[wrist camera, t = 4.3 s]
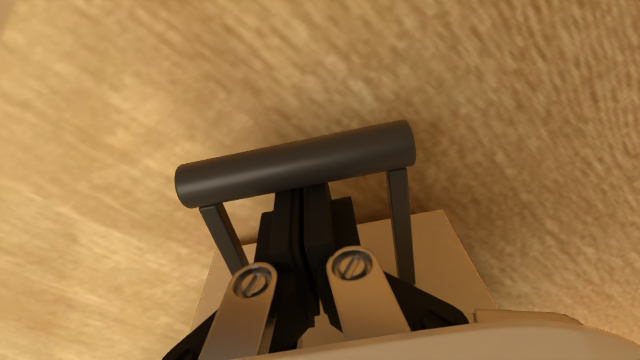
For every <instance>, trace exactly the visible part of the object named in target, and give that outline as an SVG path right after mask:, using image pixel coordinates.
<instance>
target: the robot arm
mask: <svg viewBox="0 0 640 360" xmlns="http://www.w3.org/2000/svg"><path fill="white" fill-rule="evenodd" d="M320 301H321V304H322V307H323V310H324V313H325V315H326V314H327V316H328V319H329V323H330V325H332V326H333V327H335V328H336V329H337V330H339V331H340V332H342V333H343V334H344V337H345V340H346V342H341V343H334V344H328V345H321V346H315V347H308V348H303V339H302V335H303V334H304V333H305V332H306V331H307V330H308V329H309V328H313V327H315V316H320ZM162 360H640V345H638V344H637V343H635V342H633V341H631V340H629V339H626V338H624V337H622V336H620V335H617V334H614V333H611V332H608V331H604V330H601V329H597V328H593V327H589V326H584V325H583V324H582V323H581V322H579V321H578V320H576V319H574V318H572V317H570V316H568V315H565V314H560V313H554V312H534V311H512V310H490V309H474V313H466V312H462V311H461V310H459V309H458V308H456V307H455V306H453V305H451V304H449V303H447V302H445V301H443V300H441V299H439V298H437V297H435V296H433V295H431V294H429V293H427V292H425V291H423V290H421V289H419V288H417V287H415V286H413V285H411V284H409V283H407V282H405V281H403V280H401V279H399V278H397V277H395V276H393V275H391V274H389V273H387V272H385V271H383V270H382V268H381V266H380V264H379V262H378V260H377V257H376V256H375V255H374V253H373V252H372V251H370V250H369V249H368V248H365V247H362V246H361V244H360V239H359V234H358V229H357V224H356V219H355V214H354V209H353V204H352V199H351V196H349V197H344V198H339V199H334V200H332V198H331V194H330V190H329V185H328V182H327V183H322V184H317V185H312V186H306V187H301V188H296V189H291V190H286V191H280V192H276V193H275V202H274V210H273V211H270V212H264V213H262V216H261V221H260V227H259V233H258V239H257V245H256V251H255V257H254V263H252V264H249V265H247V266H244V267H243V268H241V269H240V270H238V271H237V272H236V273H235V274H234V275H233V277H232V278H231V280H230V282H229V284H228V286H227V289H226V291H225V294H224V296H223V299H222V301H221V304H220V306H219V308H218V309H217V310H216V311H215V312H214V313H213V314H212V315H210V316H209V317H208V318H207V319H206V320H205V321H203V322H202V323H201V324H200V325H199V326H198V327H197V328H195V329H194V330H193V331H192V332H191V333H190V334H188V335H187V336H186V337H185V338H184V339H183V340H182V341H180V342H179V343H178V344H177V345H176V346H175V347H173V348H172V349H171V350H170V351H169V352H168V353H167V354H166V355H165V356H164V357H163V359H162Z"/></svg>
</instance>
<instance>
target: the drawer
mask: <svg viewBox="0 0 640 360" xmlns="http://www.w3.org/2000/svg"><path fill="white" fill-rule="evenodd" d="M415 160H416V148H415V141H414V136H413V133H412V129H411V127H410V125H409V123H408V121H407V120H398V121H393V122H388V123H384V124H379V125H374V126H369V127H364V128H359V129H354V130H349V131H344V132H339V133H334V134H329V135H324V136H319V137H315V138H310V139H305V140H300V141H295V142H290V143H285V144H280V145H275V146H270V147H265V148H260V149H255V150H250V151H246V152H241V153H236V154H231V155H226V156H221V157H216V158H211V159H206V160H201V161H196V162H191V163H186V164H182V165H180V166H179V167H178V168H177V169H176V172H175V188H176V192H177V195H178V198H179V200H180V201H181V203H182V204H183V205H184V206H185V207H187V208H191V209H192V208H197V207H199V211H200V213H201V215H202V217H203V219H204V221H205V223H206V225H207V227H208V229H209V231H210V233H211V235H212V237H213V239H214V241H215V243H216V245H217V247H218V249H219V250H216V251H215V252H214V256H213V259H212V262H211V265H210V269H209V272H208V275H207V279H206V282H205V285H204V288H203V292H202V295H201V298H200V301H199V305H198V308H197V311H196V315H195V318H194V321H193V324H192V328H191V331H190V333H191V332H192V331H193V330H194V329H195V328H197V327H198V326H199V325H200V324H201V323H202V322H203V321H205V320H206V319H207V318H208V317H209V316H210V315H212V314H213V313H214V312H215V311H216V310H217V309H218V308H219V306H220V304H221V301H222V299H223V296H224V294H225V291H226V289H227V286H228V284H229V282H230V280H231V278H232V277H233V275H234V274H235V273H236V272H237V271H238V270H240V269H241V268H243V267H244V266H247V265H249V264H252V263H254V257H255V251H256V245H257V243H254V244H248V245H243V246H241V243H240V241H239V239H238V237H237V234H236V232H235V230H234V228H233V225H232V223H231V221H230V219H229V216H228V214H227V212H226V210H225V208H224V205H223V202H228V201H234V200H239V199H244V198H249V197H254V196H260V195H265V194H270V193H275V192H280V191H286V190H291V189H296V188H301V187H306V186H312V185H317V184H322V183H327V182H332V181H338V180H343V179H348V178H353V177H358V176H364V175H369V174H374V173H379V172H384V171H385V175H386V184H387V192H388V201H389V209H390V218H391V219H386V220H380V221H375V222H369V223H364V224H358V225H357V229H358V234H359V239H360V244H361V246H362V247H365V248H368V249H369V250H370V251H372V252H373V253H374V255H375V256H376V257H377V260H378V262H379V264H380V266H381V268H382V270H383V271H385V272H387V273H389V274H391V275H393V276H395V277H397V278H399V279H401V280H403V281H405V282H407V283H409V284H411V285H413V286H415V287H417V288H419V289H421V290H423V291H425V292H427V293H429V294H431V295H433V296H435V297H437V298H439V299H441V300H443V301H445V302H447V303H449V304H451V305H453V306H455V307H456V308H458V309H459V310H461V311H462V312H466V313H474V309H490V310H498V308H497V306H496V304H495V303H494V301H493V299H492V297H491V295H490V294H489V292H488V290H487V288H486V286H485V285H484V283H483V281H482V279H481V278H480V276H479V274H478V272H477V270H476V269H475V267H474V265H473V263H472V261H471V260H470V258H469V256H468V254H467V252H466V251H465V249H464V247H463V245H462V244H461V242H460V240H459V238H458V236H457V235H456V233H455V231H454V229H453V227H452V226H451V224H450V222H449V220H448V219H447V217H446V215H445V213H444V211H443V210H435V211H430V212H424V213H419V214H413V215H411V214H410V201H409V188H408V175H407V168H406V167H410V166H413V165H414V164H415ZM302 339H303V348H308V347H315V346H321V345H328V344H334V343H341V342H346V340H345V337H344V334H343V333H342V332H340V331H339V330H337V329H336V328H335V327H333V326H332V325H330V323H329V319H328V316H327V314H326V315H325V313H324V310H323V307H322V304H321V301H320V316H315V327H313V328H309V329H308V330H307V331H306V332H305V333H304V334H303V335H302Z"/></svg>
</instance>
